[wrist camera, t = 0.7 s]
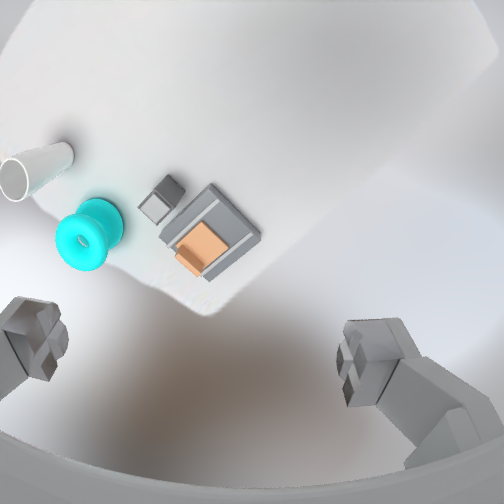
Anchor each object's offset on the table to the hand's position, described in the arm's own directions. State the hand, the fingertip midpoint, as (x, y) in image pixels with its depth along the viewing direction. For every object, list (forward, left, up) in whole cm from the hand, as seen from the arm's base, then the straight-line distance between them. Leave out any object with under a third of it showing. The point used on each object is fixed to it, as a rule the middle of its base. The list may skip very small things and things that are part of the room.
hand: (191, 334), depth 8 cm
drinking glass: (-3, -31, -43) cm, 53 cm away
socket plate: (+16, -7, -43) cm, 46 cm away
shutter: (+17, -9, -40) cm, 44 cm away
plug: (+7, -13, -43) cm, 45 cm away
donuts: (+11, -27, -43) cm, 52 cm away
